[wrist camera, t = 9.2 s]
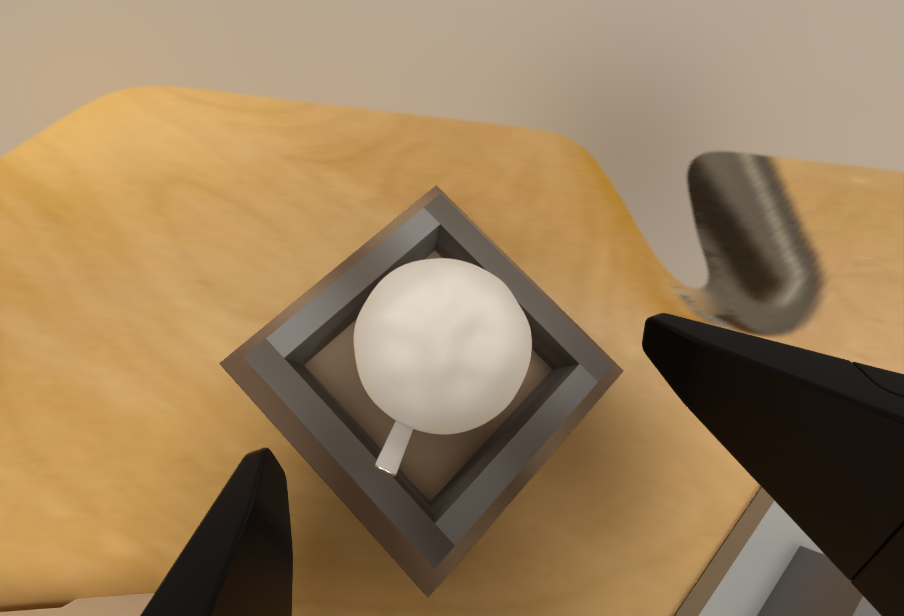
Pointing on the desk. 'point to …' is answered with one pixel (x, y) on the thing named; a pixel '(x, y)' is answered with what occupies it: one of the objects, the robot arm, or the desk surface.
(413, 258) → the wide socket
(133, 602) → the bracket
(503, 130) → the desk surface
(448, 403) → the milkshake
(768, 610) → the narrow socket
